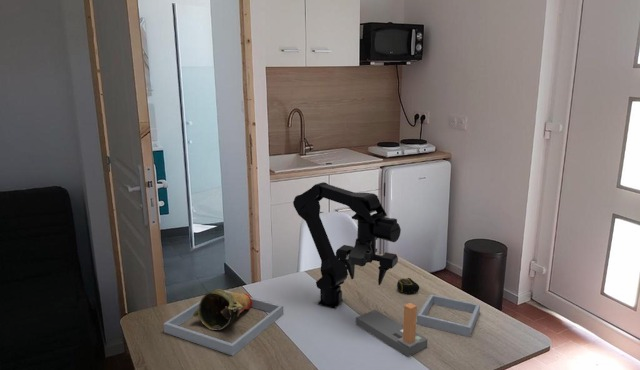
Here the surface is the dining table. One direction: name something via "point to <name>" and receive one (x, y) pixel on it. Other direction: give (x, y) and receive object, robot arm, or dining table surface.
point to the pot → (221, 307)
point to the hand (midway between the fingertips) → (365, 281)
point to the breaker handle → (409, 326)
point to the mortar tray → (217, 344)
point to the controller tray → (448, 325)
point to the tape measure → (407, 286)
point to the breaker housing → (388, 331)
